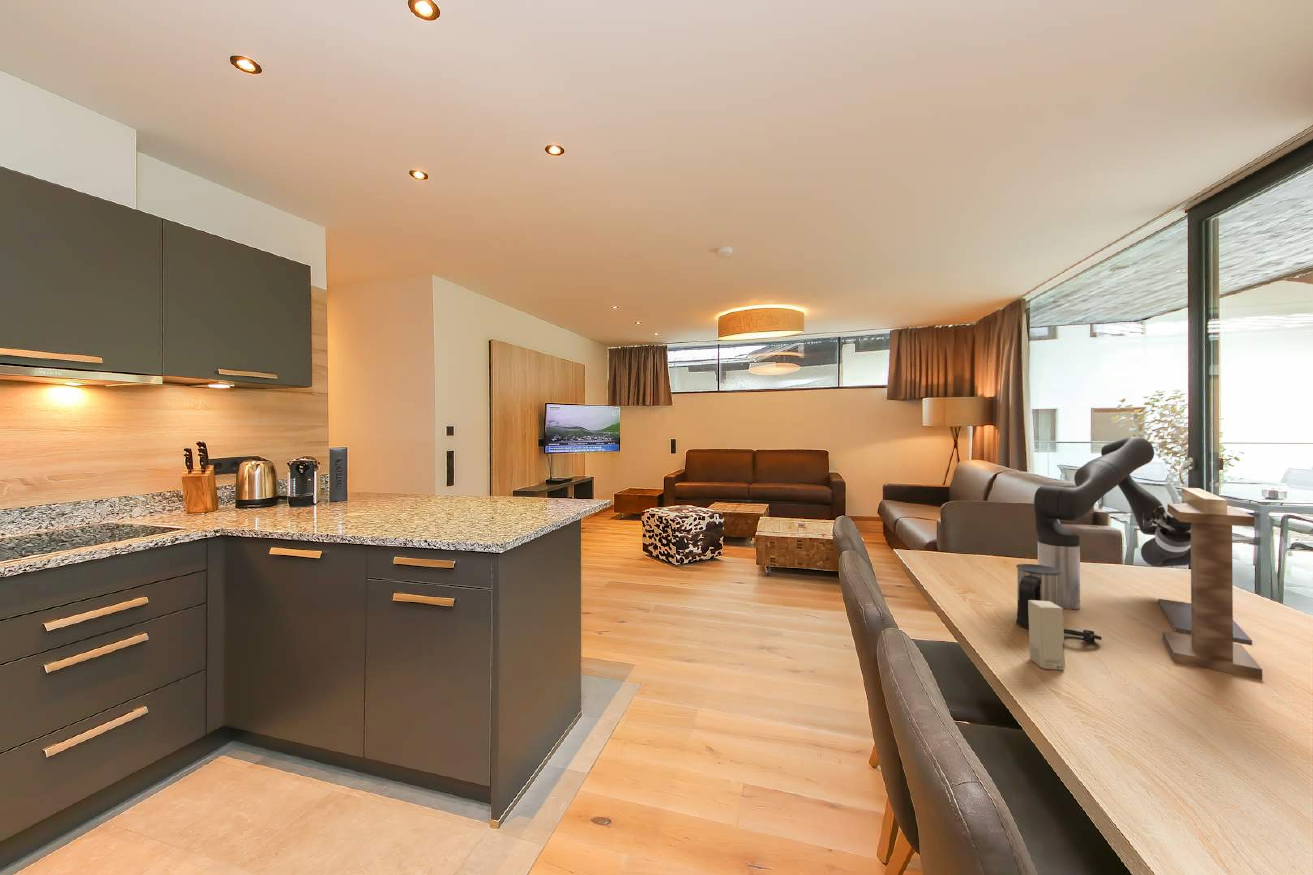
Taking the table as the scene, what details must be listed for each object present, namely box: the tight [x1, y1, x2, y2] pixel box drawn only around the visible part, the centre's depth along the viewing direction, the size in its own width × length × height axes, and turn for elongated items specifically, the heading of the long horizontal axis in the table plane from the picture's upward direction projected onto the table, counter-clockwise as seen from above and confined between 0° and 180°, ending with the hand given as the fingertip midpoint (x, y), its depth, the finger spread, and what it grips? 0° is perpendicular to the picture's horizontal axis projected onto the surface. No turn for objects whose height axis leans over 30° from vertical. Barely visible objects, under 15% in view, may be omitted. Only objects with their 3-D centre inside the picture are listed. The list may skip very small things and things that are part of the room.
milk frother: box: [1015, 563, 1103, 643], centre depth 119 cm, size 14×16×15 cm
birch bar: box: [1181, 487, 1228, 515], centre depth 108 cm, size 3×24×3 cm, turn 141°
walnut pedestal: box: [1162, 502, 1263, 680], centre depth 104 cm, size 12×15×32 cm
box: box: [1028, 600, 1066, 671], centre depth 103 cm, size 5×4×13 cm
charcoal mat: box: [1157, 598, 1253, 645], centre depth 125 cm, size 12×26×1 cm, turn 141°
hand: (1186, 511), depth 121 cm, fingers open, 8 cm apart
